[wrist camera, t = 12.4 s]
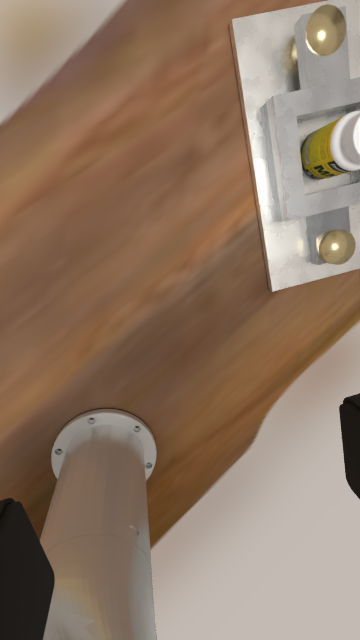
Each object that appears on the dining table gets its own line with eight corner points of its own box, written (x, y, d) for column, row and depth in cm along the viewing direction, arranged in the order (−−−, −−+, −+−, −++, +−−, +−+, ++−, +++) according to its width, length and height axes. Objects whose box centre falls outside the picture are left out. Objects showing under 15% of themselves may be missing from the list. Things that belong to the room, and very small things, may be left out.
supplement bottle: (294, 180, 34) (344, 164, 26) (298, 130, 33) (352, 97, 25) (336, 181, 35) (397, 166, 27) (341, 132, 34) (408, 101, 26)
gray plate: (378, 260, 39) (406, 264, 35) (268, 290, 38) (285, 296, 34) (365, -1, 32) (399, -35, 28) (228, 25, 31) (243, -5, 27)
